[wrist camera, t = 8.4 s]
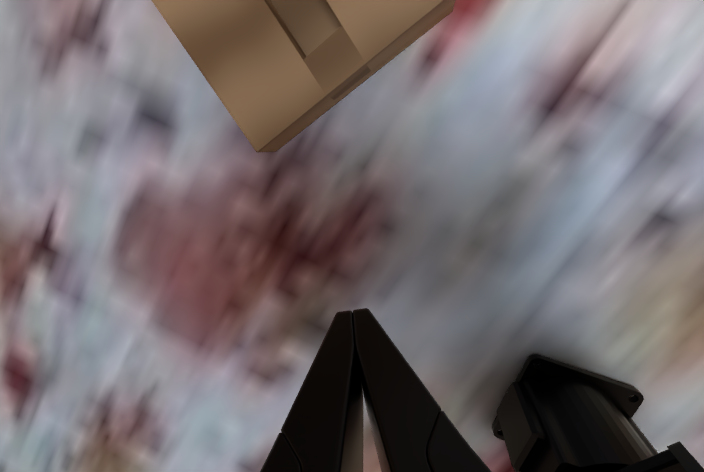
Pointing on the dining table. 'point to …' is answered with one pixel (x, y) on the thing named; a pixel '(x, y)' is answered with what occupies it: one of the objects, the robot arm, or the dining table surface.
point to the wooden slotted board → (293, 53)
